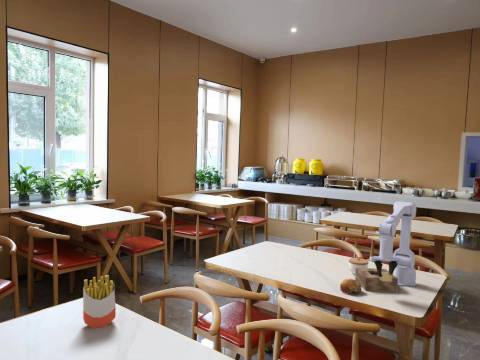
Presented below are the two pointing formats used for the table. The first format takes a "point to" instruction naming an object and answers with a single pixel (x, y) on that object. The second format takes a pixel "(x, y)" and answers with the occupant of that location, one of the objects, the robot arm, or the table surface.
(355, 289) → the bread roll
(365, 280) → the coin box
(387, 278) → the brass cube
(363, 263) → the lidded jar
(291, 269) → the table surface
